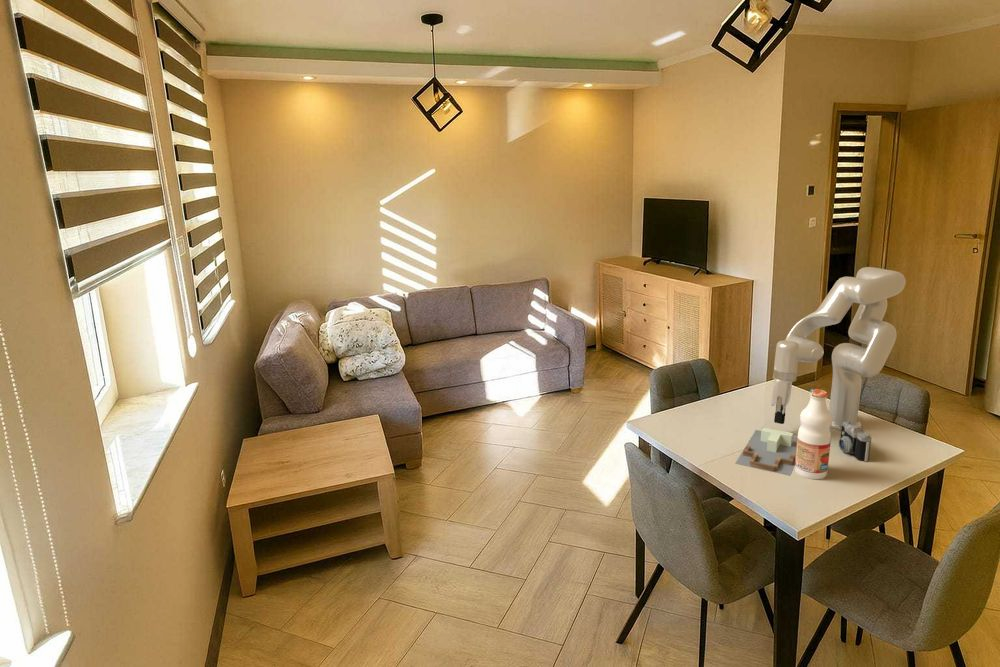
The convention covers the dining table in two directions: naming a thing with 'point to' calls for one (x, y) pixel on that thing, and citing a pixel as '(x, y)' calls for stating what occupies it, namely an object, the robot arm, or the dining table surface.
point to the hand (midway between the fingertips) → (779, 422)
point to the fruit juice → (814, 438)
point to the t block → (776, 438)
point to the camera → (855, 441)
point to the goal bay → (766, 466)
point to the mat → (769, 454)
